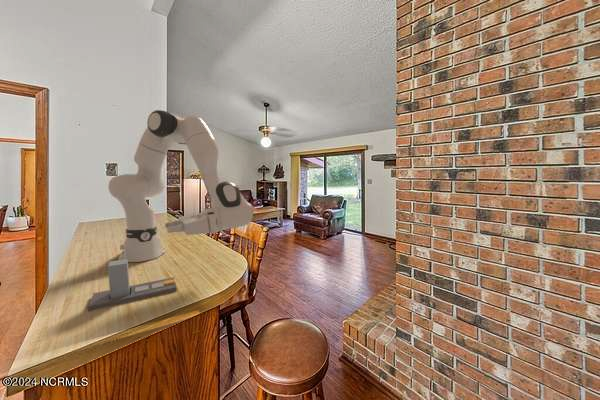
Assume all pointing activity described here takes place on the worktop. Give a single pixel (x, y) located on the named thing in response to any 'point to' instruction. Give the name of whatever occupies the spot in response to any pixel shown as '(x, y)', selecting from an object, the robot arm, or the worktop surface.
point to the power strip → (133, 293)
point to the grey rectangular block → (119, 278)
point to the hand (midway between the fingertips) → (166, 227)
